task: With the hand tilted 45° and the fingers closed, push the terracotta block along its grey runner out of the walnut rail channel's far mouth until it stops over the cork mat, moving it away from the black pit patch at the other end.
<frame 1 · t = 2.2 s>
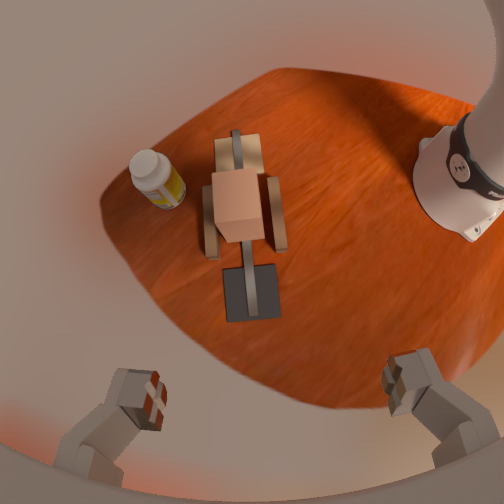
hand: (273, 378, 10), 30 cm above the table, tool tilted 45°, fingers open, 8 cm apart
mat: (238, 156, 44), resting in track
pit: (251, 293, 40), resting in track
supplement bottle: (169, 194, 44), on the table
track: (244, 221, 42), on the table
block: (240, 208, 37), point 5 cm above the table, slide at 0.0 cm
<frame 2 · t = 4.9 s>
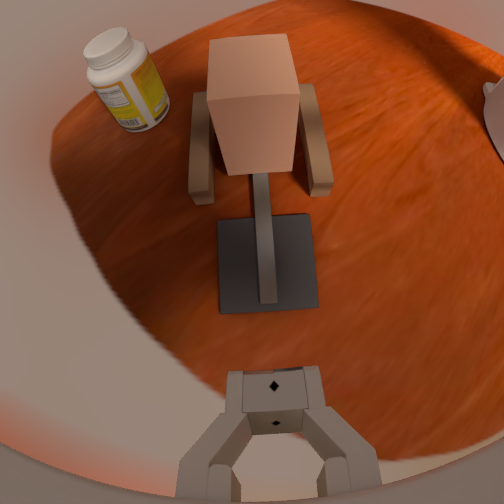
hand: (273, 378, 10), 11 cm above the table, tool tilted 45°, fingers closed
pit: (266, 263, 22), resting in track
supplement bottle: (146, 114, 27), on the table
track: (258, 146, 24), on the table
block: (254, 107, 19), point 5 cm above the table, slide at 0.0 cm
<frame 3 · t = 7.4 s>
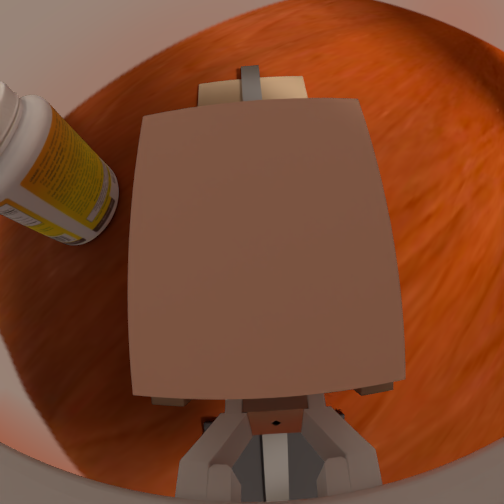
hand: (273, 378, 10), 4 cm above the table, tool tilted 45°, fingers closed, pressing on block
mat: (254, 118, 17), resting in track
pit: (276, 476, 12), resting in track
supplement bottle: (87, 206, 17), on the table
track: (266, 293, 15), on the table
block: (264, 270, 10), point 5 cm above the table, slide at 0.2 cm, touching gripper
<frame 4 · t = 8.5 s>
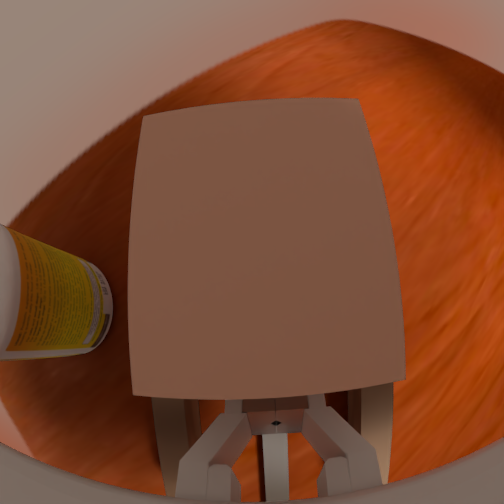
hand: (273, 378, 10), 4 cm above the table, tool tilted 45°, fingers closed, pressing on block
supplement bottle: (80, 307, 15), on the table
track: (273, 416, 13), on the table
block: (264, 270, 10), point 5 cm above the table, slide at 6.6 cm, touching gripper
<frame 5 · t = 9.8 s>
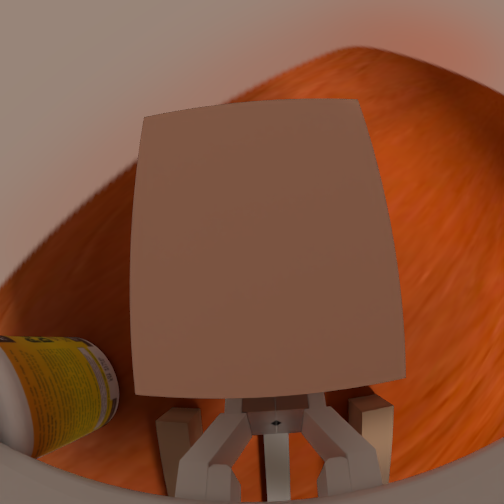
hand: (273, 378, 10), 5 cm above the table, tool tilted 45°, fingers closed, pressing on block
supplement bottle: (85, 382, 14), on the table
track: (278, 486, 12), on the table
block: (264, 270, 10), point 5 cm above the table, slide at 11.1 cm, touching gripper
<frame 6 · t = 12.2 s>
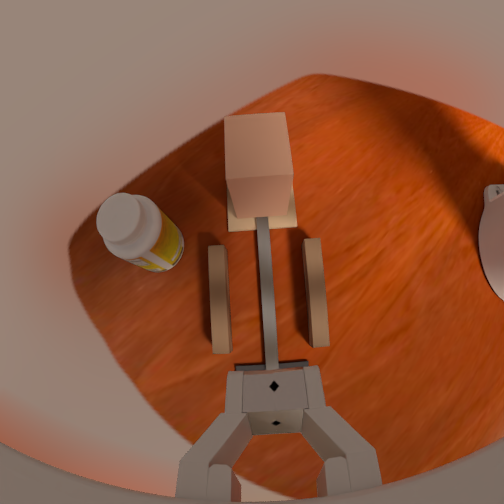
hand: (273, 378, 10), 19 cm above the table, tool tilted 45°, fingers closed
mat: (260, 197, 32), resting in track
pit: (274, 397, 27), resting in track
supplement bottle: (161, 247, 31), on the table
track: (267, 297, 29), on the table
block: (258, 169, 27), point 5 cm above the table, slide at 11.1 cm
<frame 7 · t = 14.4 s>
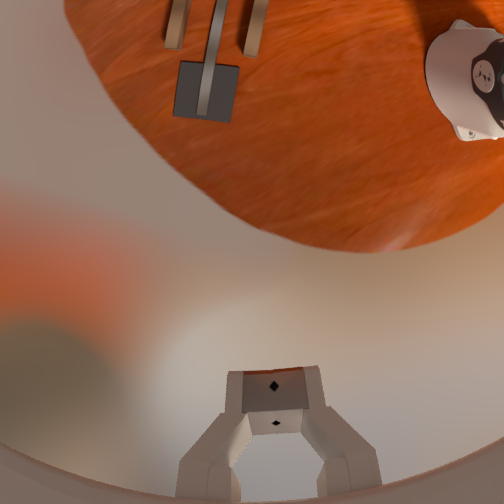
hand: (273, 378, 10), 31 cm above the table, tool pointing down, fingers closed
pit: (205, 91, 32), resting in track
track: (219, 16, 27), on the table
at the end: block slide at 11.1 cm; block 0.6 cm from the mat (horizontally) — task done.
